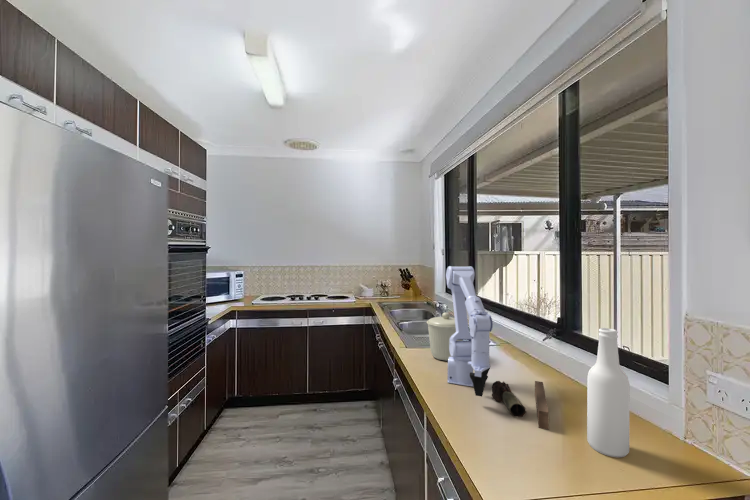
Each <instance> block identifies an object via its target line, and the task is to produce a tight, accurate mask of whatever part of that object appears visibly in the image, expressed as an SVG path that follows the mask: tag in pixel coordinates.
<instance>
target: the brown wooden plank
mask: <svg viewBox="0 0 750 500" xmlns="http://www.w3.org/2000/svg"><path fill="white" fill-rule="evenodd" d="M534 398H535V407H536V409H535V410H536V418H537V423H538V429H544V430H549V429H550V423H549V422H550V421H549V420H550V417H549V415H550V414H549V412H550V411H549V407H548V401H547V397H546V391H545V386H544V382H543V381H538V380H534Z"/></svg>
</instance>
